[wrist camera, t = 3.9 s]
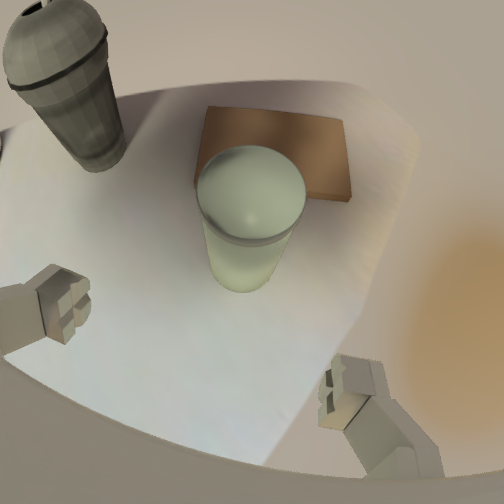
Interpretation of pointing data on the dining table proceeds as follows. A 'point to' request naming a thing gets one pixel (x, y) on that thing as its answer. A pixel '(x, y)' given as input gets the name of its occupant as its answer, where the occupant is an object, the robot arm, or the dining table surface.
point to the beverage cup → (67, 78)
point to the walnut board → (284, 145)
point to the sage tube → (248, 213)
